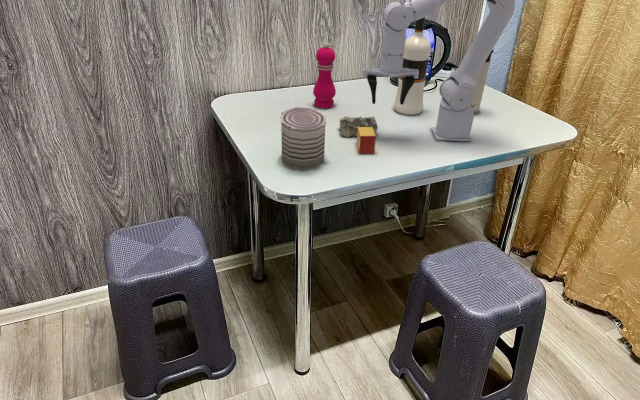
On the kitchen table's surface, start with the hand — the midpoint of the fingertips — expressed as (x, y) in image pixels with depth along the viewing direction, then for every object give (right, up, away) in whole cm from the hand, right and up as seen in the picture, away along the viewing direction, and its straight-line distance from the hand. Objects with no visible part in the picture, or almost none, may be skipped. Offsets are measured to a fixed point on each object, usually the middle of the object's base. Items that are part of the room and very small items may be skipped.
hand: (387, 102), depth 129 cm
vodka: (+10, +2, +22) cm, 24 cm away
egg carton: (-8, -7, +7) cm, 13 cm away
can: (-23, -16, -8) cm, 29 cm away
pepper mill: (-17, +4, +24) cm, 30 cm away
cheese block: (-6, -13, -1) cm, 14 cm away
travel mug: (+30, +2, +23) cm, 38 cm away
